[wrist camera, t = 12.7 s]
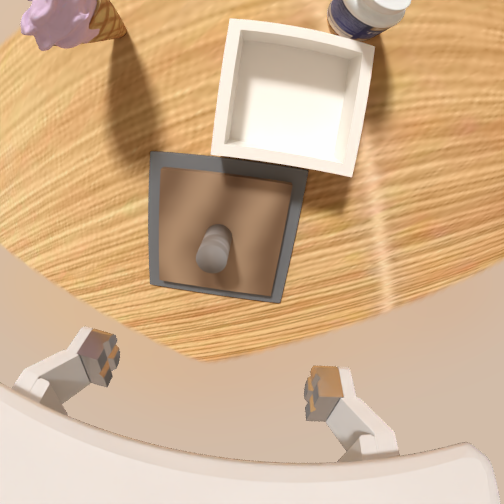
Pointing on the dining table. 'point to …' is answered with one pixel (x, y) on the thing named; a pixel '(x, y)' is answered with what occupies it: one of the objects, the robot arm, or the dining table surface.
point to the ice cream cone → (71, 22)
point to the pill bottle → (364, 17)
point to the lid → (221, 229)
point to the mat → (230, 167)
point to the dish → (292, 96)
